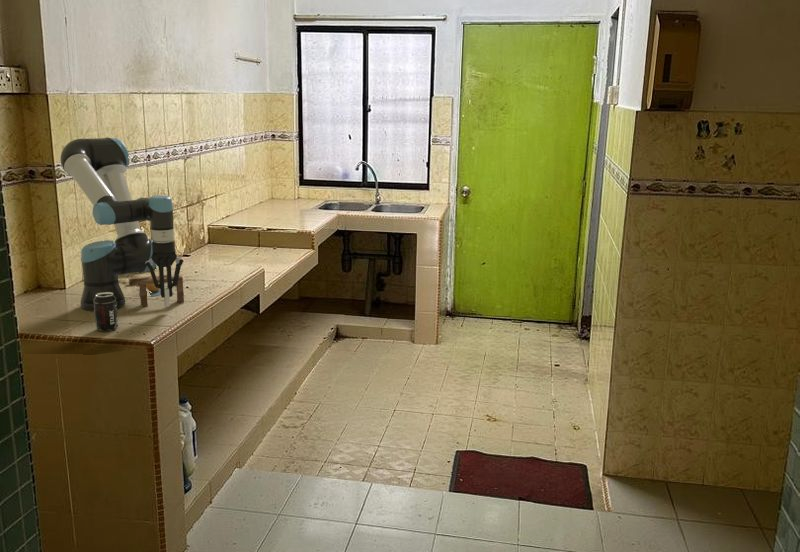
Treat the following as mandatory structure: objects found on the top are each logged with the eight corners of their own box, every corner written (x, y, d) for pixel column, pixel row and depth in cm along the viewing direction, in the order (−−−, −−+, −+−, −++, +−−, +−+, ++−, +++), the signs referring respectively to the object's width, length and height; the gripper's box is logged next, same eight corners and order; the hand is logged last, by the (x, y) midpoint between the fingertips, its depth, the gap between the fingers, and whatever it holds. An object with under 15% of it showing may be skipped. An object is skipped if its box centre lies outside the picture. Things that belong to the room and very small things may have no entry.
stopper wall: (129, 285, 287) (129, 279, 286) (129, 284, 288) (128, 278, 288) (170, 281, 294) (170, 275, 293) (169, 280, 295) (169, 274, 295)
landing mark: (141, 297, 269) (141, 297, 269) (137, 290, 280) (137, 289, 280) (173, 294, 275) (173, 293, 274) (169, 287, 285) (168, 286, 285)
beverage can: (92, 332, 228) (89, 296, 225) (101, 326, 235) (98, 291, 232) (113, 332, 228) (110, 297, 225) (121, 326, 235) (118, 291, 232)
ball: (145, 294, 278) (147, 290, 273) (144, 279, 279) (145, 275, 274) (161, 292, 280) (163, 288, 275) (159, 278, 282) (161, 274, 277)
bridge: (184, 302, 263) (182, 277, 261) (141, 307, 257) (139, 281, 255) (182, 300, 266) (181, 275, 264) (140, 304, 260) (138, 279, 257)
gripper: (144, 244, 238) (149, 310, 244) (184, 241, 244) (187, 306, 249) (142, 240, 244) (146, 304, 250) (180, 237, 250) (184, 301, 256)
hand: (167, 305), depth 250 cm, fingers closed
